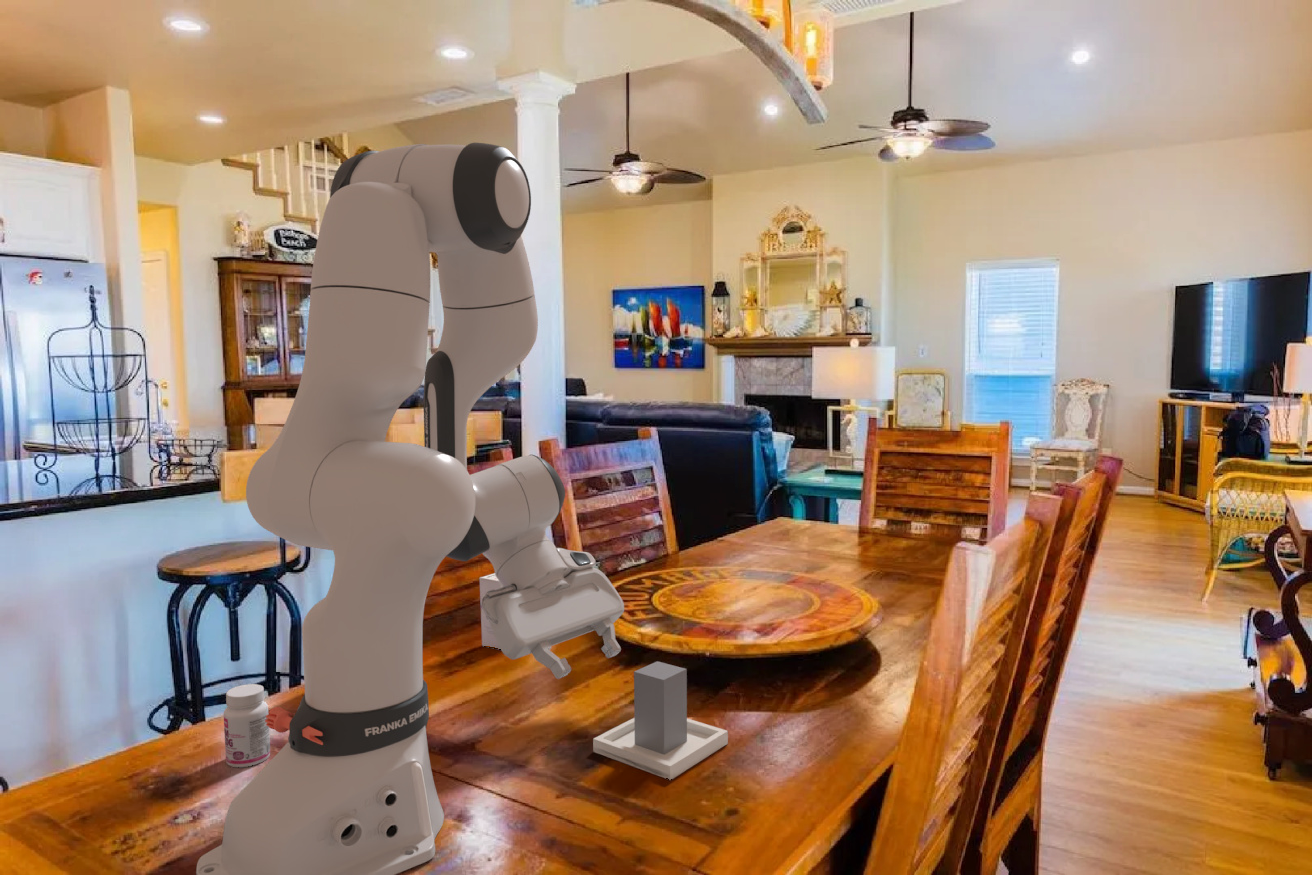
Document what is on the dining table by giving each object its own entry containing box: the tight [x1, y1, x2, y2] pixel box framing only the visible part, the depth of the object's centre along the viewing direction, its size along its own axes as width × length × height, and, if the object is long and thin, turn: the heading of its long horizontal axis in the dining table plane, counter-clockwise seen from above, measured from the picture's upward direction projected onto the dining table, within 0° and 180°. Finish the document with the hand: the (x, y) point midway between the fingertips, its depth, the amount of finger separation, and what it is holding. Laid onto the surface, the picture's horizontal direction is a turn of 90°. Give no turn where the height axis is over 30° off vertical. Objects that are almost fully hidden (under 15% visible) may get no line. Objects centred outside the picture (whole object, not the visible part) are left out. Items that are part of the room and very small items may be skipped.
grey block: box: [633, 661, 688, 755], centre depth 102 cm, size 4×4×9 cm
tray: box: [592, 717, 729, 781], centre depth 102 cm, size 12×12×2 cm
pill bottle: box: [223, 683, 271, 768], centre depth 100 cm, size 5×5×8 cm
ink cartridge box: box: [478, 572, 502, 650], centre depth 142 cm, size 9×5×15 cm, turn 149°
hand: (590, 664), depth 109 cm, fingers open, 8 cm apart
